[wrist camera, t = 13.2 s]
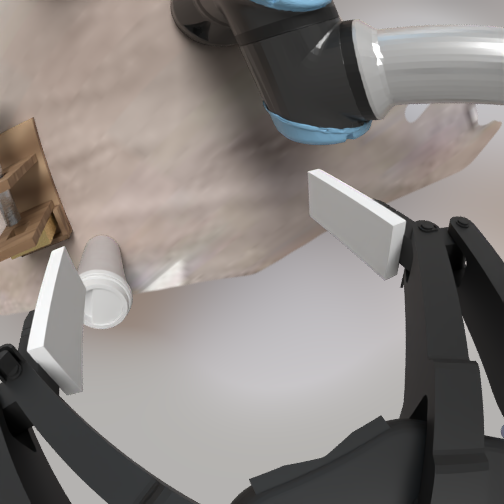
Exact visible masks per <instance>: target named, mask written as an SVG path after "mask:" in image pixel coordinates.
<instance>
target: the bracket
mask: <svg viewBox="0 0 504 504" xmlns="http://www.w3.org/2000/svg"><path fill="white" fill-rule="evenodd" d="M0 165H1V167H2V170H3V173H4V176H3V177H2V178H1V179H0V194H1V193H3V192H5V191H7V190H9V189H10V192H11V194H12V197H13V199H14V202H15V204H16V207H17V209H18V211H19V214H20V216H21V220H20V221H19V222H18V223H17V224H15V225H13V226H11V227H8V226H6V228H5V230H4V231H3V233H2V234H1V236H0V262H1V261H3V260H5V259H7V258H10V257H12V256H14V255H17V254H19V253H21V252H24V251H26V250H29V249H31V248H33V247H36V245H37V243H38V241H39V238H40V236H41V234H42V232H43V229H44V227H45V225H46V223H47V221H48V219H49V217H50V214H51V212H52V210H53V213H54V215H55V218H56V220H57V222H58V226H57V228H56V231H55V233H54V236H53V239H52V242H51V244H49V245H46V246H44V247H41V248H39V249H36V250H34V251H31V252H29V253H26V254H24V255H22V257H23V256H26V255H28V254H31V253H33V252H35V251H38V250H40V249H43V248H45V247H48V246H50V245H53V244H56V243H58V242H61V241H63V240H66V239H69V238H70V234H71V233H72V228H71V225H70V223H69V221H68V218H67V216H66V213H65V211H64V208H63V206H62V203H61V201H60V198H59V195H58V193H57V190H56V187H55V185H54V182H53V179H52V176H51V173H50V170H49V167H48V164H47V161H46V158H45V155H44V152H43V149H42V146H41V142H40V139H39V135H38V132H37V128H36V125H35V121H34V117H33V118H31V119H29V120H27V121H25V122H23V123H21V124H19V125H17V126H15V127H13V128H11V129H9V130H7V131H5V132H3V133H1V134H0Z"/></svg>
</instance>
